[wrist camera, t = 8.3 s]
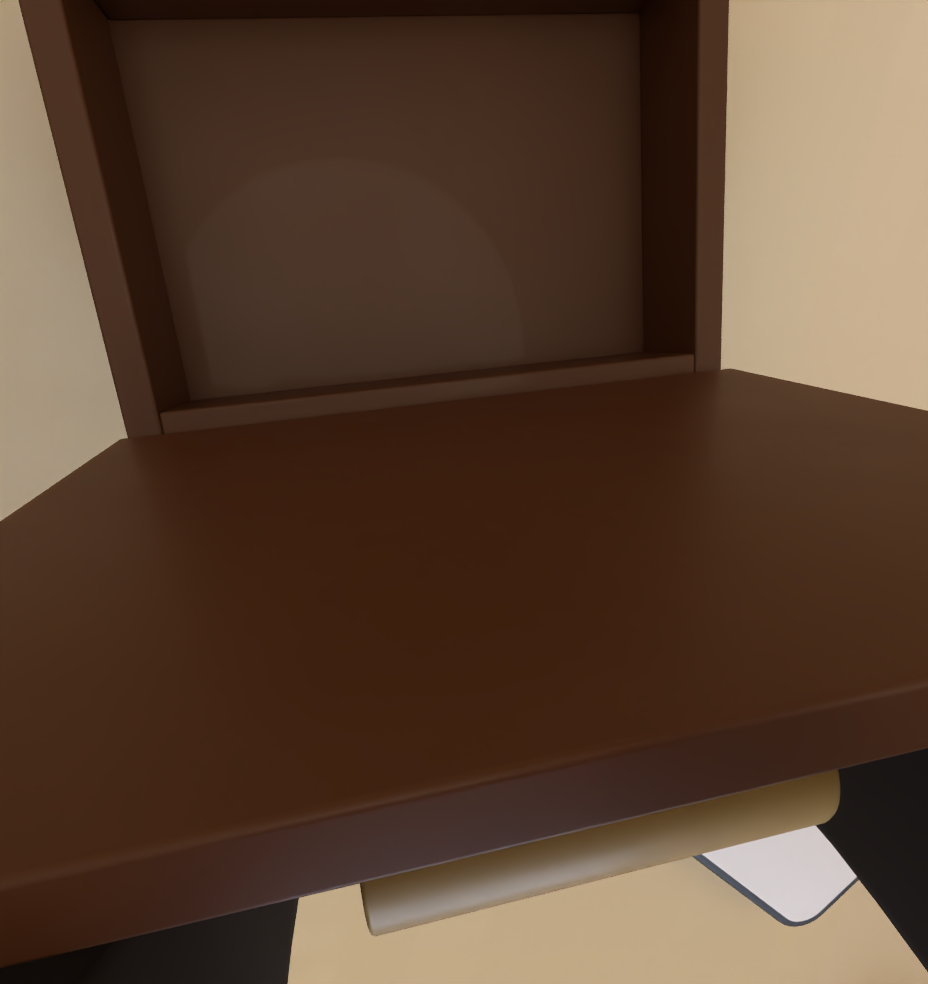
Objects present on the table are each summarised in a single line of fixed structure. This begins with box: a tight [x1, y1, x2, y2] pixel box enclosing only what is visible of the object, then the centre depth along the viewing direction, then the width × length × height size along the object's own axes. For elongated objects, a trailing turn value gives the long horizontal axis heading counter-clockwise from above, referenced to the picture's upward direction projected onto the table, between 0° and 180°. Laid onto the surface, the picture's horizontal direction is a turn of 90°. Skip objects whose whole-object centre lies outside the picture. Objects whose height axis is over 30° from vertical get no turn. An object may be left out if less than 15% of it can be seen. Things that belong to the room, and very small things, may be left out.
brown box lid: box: [0, 369, 928, 969], centre depth 9 cm, size 10×13×4 cm
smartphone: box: [692, 826, 859, 927], centre depth 20 cm, size 9×2×16 cm
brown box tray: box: [19, 0, 729, 438], centre depth 13 cm, size 9×13×3 cm
